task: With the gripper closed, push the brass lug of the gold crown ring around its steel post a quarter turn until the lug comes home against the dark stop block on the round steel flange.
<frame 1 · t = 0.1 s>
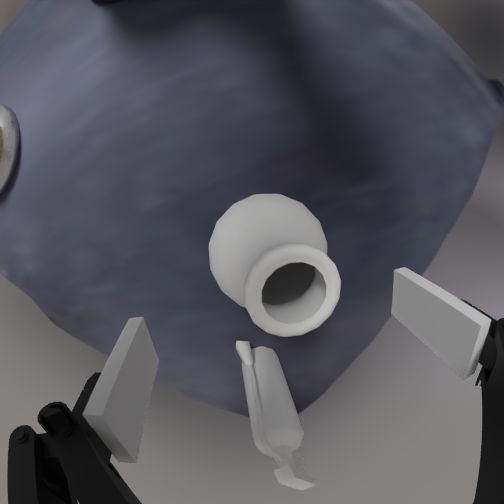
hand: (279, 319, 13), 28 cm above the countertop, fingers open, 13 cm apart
vase: (259, 238, 41), on the countertop
fire extinguisher: (257, 358, 47), on the countertop
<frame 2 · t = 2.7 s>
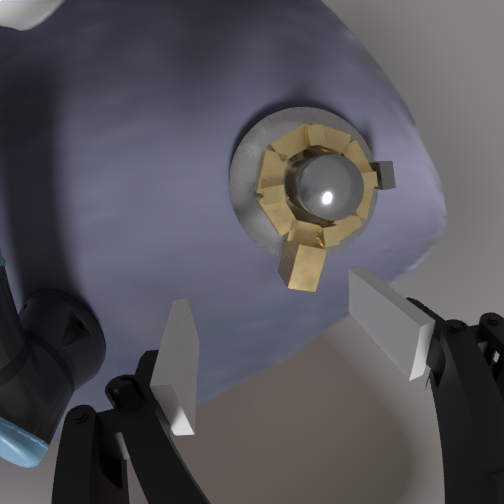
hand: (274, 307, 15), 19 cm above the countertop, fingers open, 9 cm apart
vase: (42, 2, 19), on the countertop
flange: (305, 183, 33), on the countertop
gold crown ring: (314, 205, 28), point 5 cm above the countertop, hinge at 0.0°
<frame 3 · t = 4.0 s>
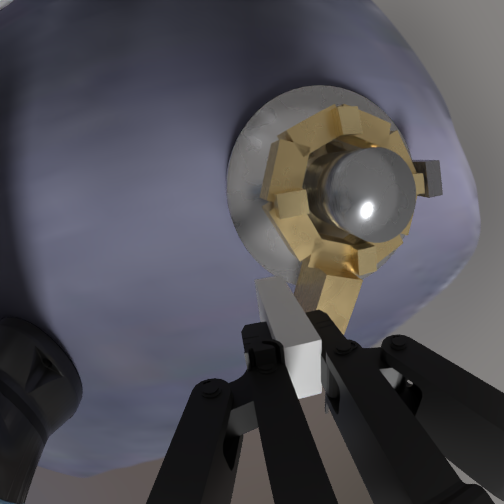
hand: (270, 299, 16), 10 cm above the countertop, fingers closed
flange: (326, 186, 24), on the countertop
gold crown ring: (344, 218, 20), point 5 cm above the countertop, hinge at 0.0°
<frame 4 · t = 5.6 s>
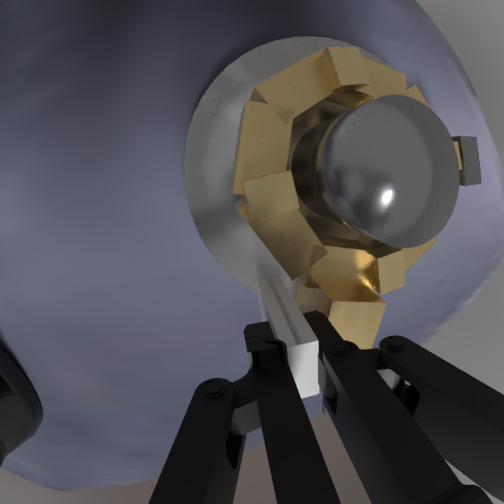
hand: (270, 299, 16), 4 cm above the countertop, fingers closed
flange: (327, 170, 18), on the countertop
gold crown ring: (355, 211, 14), point 5 cm above the countertop, hinge at 4.9°, touching gripper
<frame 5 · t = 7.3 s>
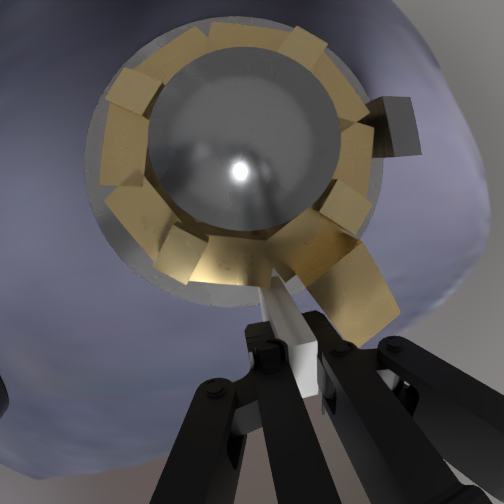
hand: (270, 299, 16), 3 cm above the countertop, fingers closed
flange: (234, 155, 17), on the countertop
gold crown ring: (268, 184, 12), point 5 cm above the countertop, hinge at 50.0°, touching gripper
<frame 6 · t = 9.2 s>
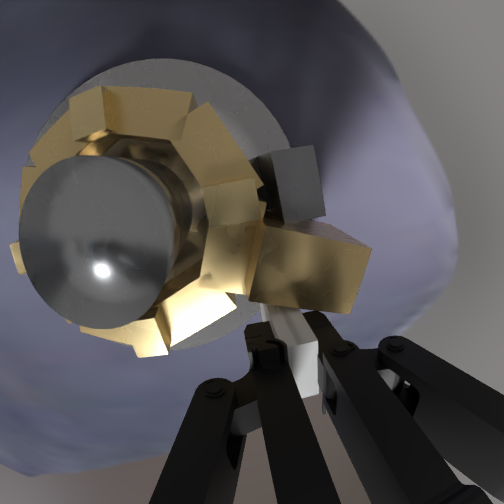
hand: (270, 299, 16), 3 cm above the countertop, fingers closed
flange: (148, 208, 17), on the countertop
gold crown ring: (166, 231, 12), point 5 cm above the countertop, hinge at 89.7°, touching flange, gripper
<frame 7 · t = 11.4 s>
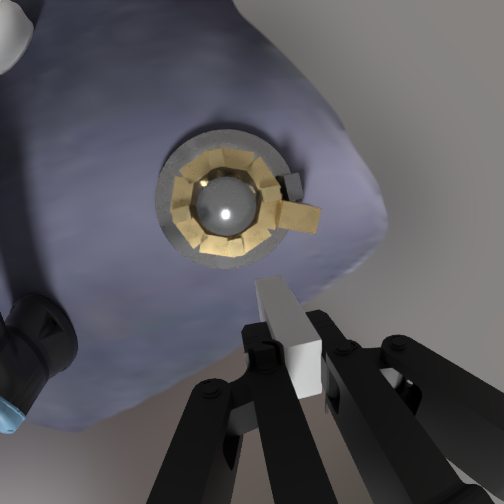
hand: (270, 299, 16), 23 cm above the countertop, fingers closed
vase: (11, 47, 24), on the countertop
flange: (225, 198, 37), on the countertop
gold crown ring: (244, 205, 33), point 5 cm above the countertop, hinge at 89.7°, touching flange
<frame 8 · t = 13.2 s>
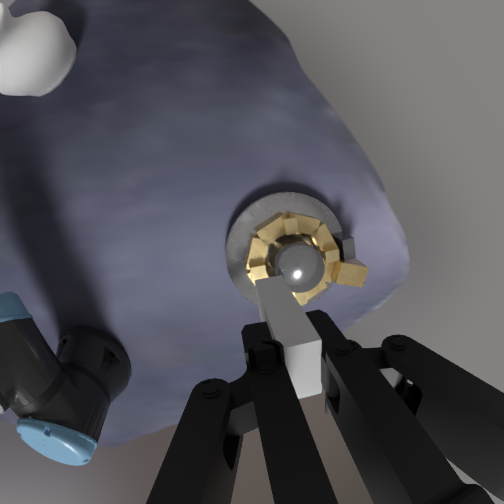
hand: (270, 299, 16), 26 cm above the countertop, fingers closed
vase: (49, 65, 30), on the countertop
flange: (285, 251, 43), on the countertop
gold crown ring: (307, 262, 39), point 5 cm above the countertop, hinge at 89.7°, touching flange
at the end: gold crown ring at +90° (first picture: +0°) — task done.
